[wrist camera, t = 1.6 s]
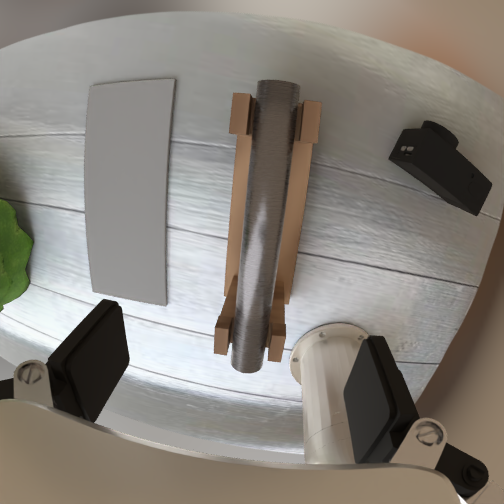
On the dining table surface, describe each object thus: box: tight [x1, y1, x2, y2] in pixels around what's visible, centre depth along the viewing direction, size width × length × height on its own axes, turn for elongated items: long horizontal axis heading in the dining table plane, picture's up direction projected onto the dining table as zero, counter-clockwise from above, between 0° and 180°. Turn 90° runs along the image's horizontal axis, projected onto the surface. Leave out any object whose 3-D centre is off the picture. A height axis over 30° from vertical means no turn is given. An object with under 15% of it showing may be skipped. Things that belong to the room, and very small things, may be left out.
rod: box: [231, 80, 300, 373], centre depth 23 cm, size 24×3×3 cm, turn 174°
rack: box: [214, 93, 322, 362], centre depth 29 cm, size 8×22×12 cm, turn 174°
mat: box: [84, 79, 176, 306], centre depth 35 cm, size 12×29×1 cm, turn 174°
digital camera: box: [389, 121, 492, 216], centre depth 27 cm, size 10×5×7 cm, turn 64°
